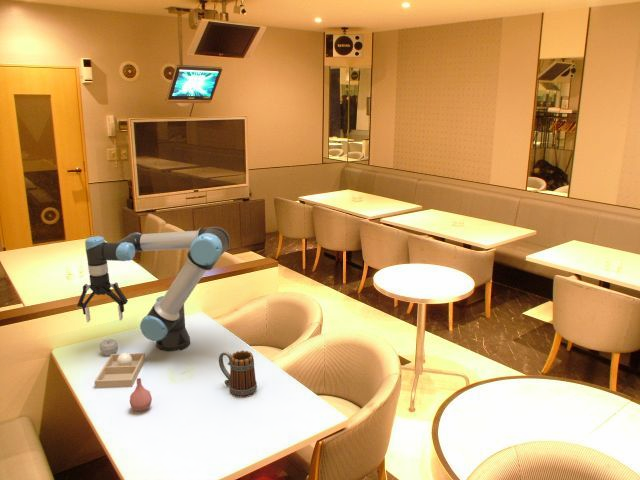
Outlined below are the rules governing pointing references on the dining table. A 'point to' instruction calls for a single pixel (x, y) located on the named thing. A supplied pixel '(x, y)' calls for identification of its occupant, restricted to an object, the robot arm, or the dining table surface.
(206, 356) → the dining table surface
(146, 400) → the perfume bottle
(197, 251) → the robot arm
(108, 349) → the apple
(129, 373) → the wooden compartment tray
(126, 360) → the egg
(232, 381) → the mug
